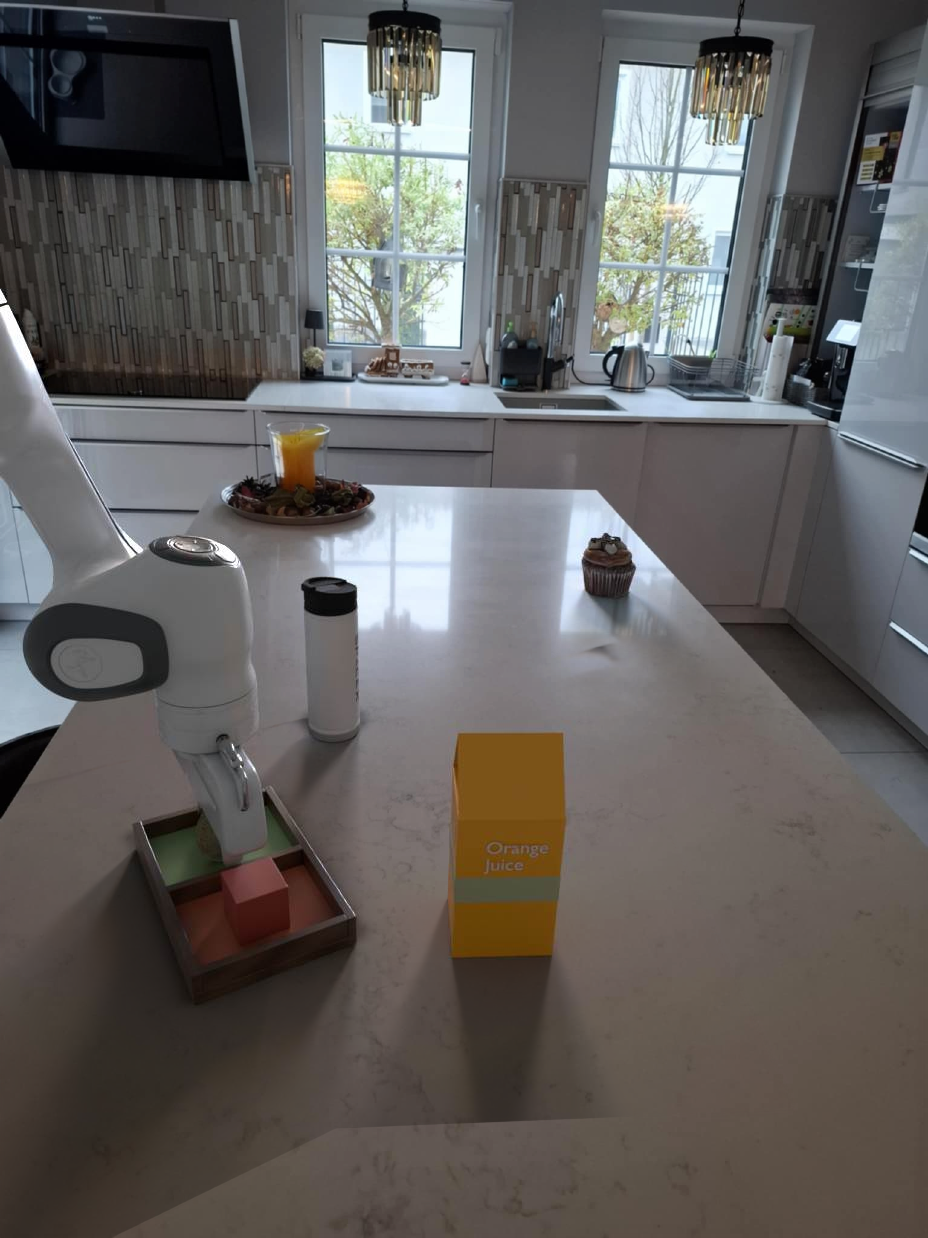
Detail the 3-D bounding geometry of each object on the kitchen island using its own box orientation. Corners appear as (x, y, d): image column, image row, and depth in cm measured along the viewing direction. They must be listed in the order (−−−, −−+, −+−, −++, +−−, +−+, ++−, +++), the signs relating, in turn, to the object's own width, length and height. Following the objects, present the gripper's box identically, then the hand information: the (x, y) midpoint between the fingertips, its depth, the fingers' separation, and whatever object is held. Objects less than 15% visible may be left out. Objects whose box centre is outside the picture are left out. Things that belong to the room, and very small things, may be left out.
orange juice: (446, 896, 81) (453, 709, 73) (539, 894, 82) (557, 709, 74) (451, 959, 74) (459, 760, 66) (553, 957, 75) (574, 759, 67)
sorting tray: (194, 1005, 69) (191, 977, 68) (135, 848, 86) (132, 823, 85) (356, 943, 76) (356, 916, 74) (272, 808, 93) (270, 785, 92)
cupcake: (621, 604, 150) (627, 548, 146) (570, 591, 154) (575, 537, 150) (641, 587, 157) (648, 534, 153) (592, 576, 162) (597, 524, 158)
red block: (239, 946, 73) (236, 904, 71) (224, 913, 77) (220, 872, 75) (290, 928, 75) (288, 886, 74) (273, 896, 79) (270, 856, 77)
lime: (256, 845, 85) (253, 803, 83) (224, 874, 81) (219, 830, 79) (221, 831, 87) (217, 789, 85) (187, 859, 83) (182, 816, 81)
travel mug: (297, 728, 108) (289, 577, 100) (342, 712, 112) (338, 566, 104) (323, 749, 104) (318, 594, 96) (369, 732, 108) (368, 582, 100)
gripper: (281, 759, 72) (288, 892, 77) (211, 661, 88) (222, 776, 93) (205, 779, 69) (218, 915, 74) (147, 673, 85) (161, 792, 90)
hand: (219, 837), depth 84 cm, fingers open, 6 cm apart
